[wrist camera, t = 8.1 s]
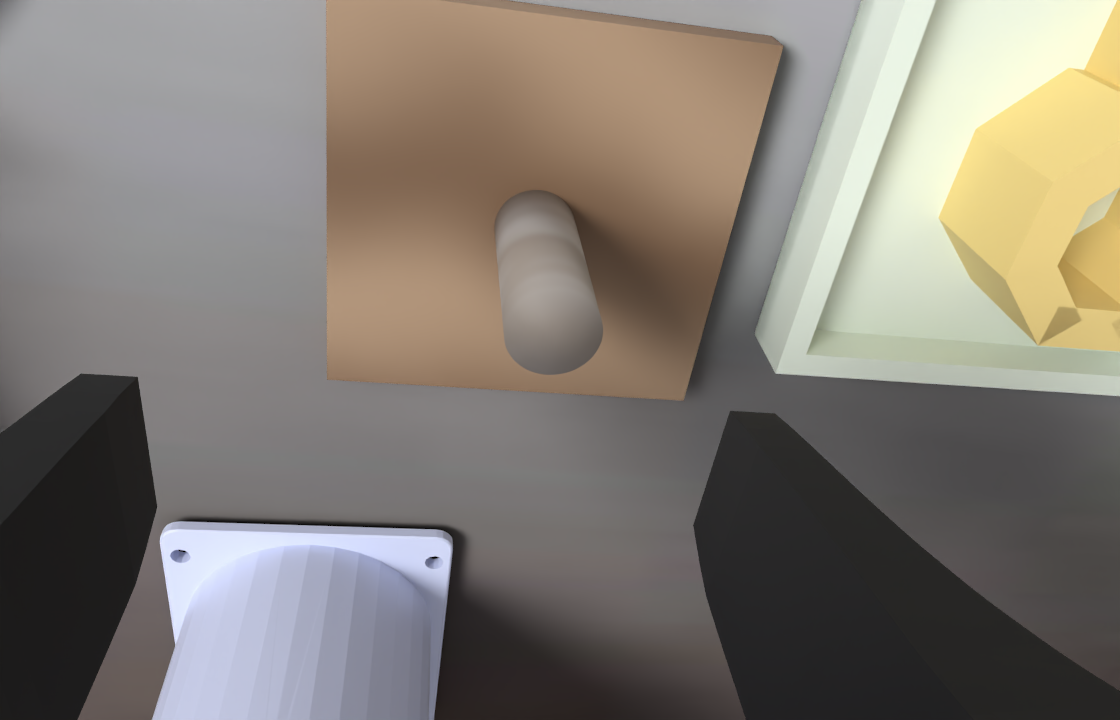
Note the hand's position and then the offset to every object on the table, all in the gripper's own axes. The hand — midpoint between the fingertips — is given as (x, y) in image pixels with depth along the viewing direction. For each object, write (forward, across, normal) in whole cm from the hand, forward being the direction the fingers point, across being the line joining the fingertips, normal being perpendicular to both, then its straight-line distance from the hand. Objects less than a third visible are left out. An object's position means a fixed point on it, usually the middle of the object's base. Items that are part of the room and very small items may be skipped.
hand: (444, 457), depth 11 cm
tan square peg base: (+10, -2, +1) cm, 10 cm away
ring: (+9, -14, -1) cm, 17 cm away
